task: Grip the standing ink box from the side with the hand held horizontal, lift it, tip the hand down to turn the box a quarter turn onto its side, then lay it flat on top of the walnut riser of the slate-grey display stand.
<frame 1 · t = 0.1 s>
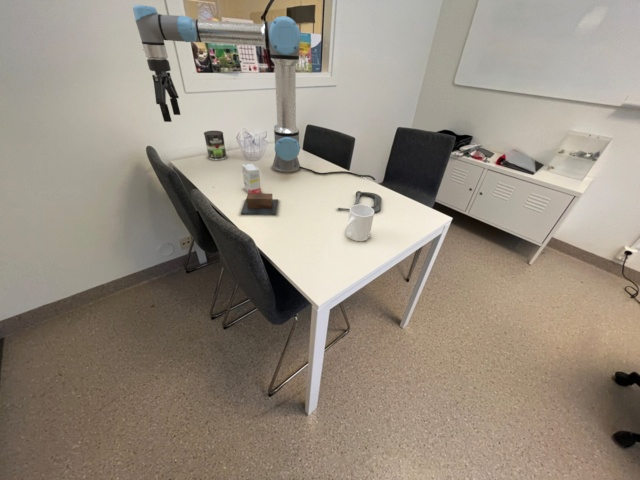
hand: (172, 118, 114), 28 cm above the table, tool pointing down, fingers open, 13 cm apart
c clamp: (362, 204, 119), on the table
coffee can: (217, 157, 157), on the table
mug: (354, 237, 97), on the table
stand: (260, 207, 111), on the table
ink box: (253, 191, 123), on the table
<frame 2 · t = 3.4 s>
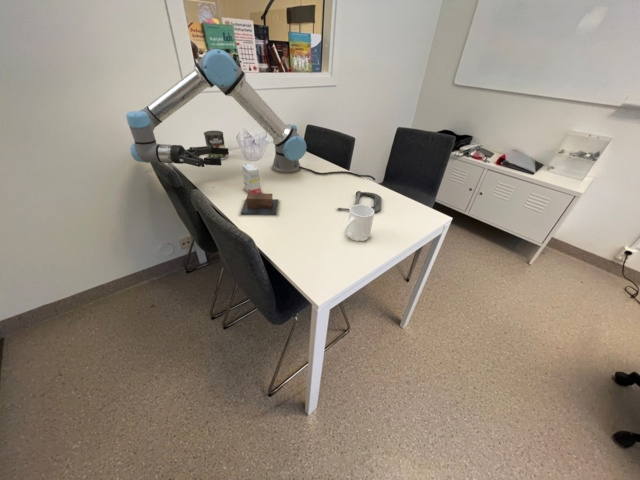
hand: (224, 156, 113), 16 cm above the table, tool horizontal, fingers open, 13 cm apart
nothing on the table moved.
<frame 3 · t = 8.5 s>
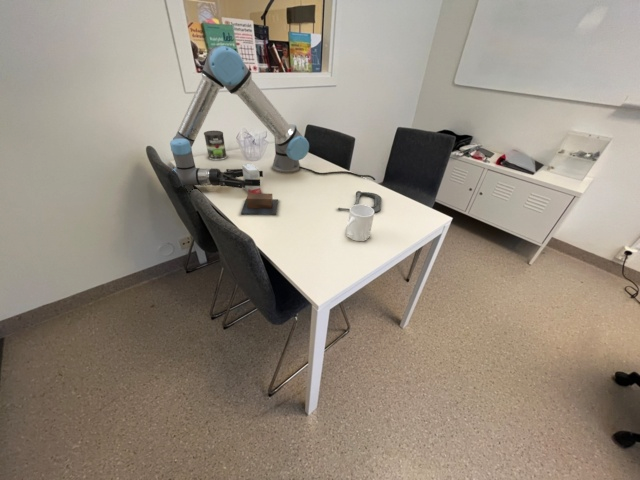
hand: (261, 178, 119), 7 cm above the table, tool horizontal, fingers closed on ink box, 9 cm apart
ink box: (253, 191, 123), on the table, touching gripper
everything else where it was.
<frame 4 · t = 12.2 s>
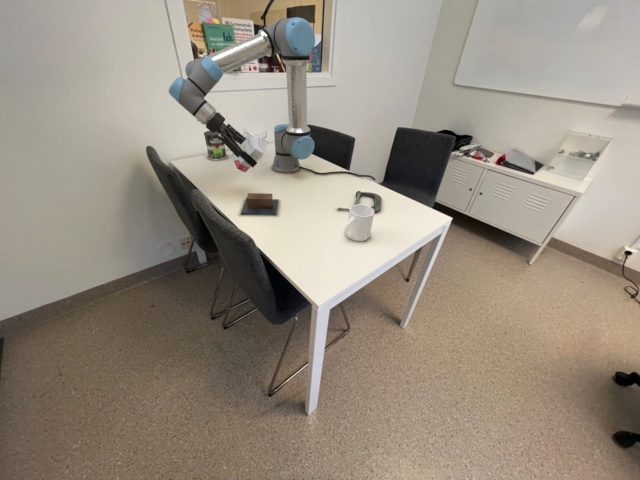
hand: (256, 160, 111), 16 cm above the table, tool tilted 45°, fingers closed on ink box, 9 cm apart
ink box: (238, 164, 111), point 14 cm above the table, touching gripper
everything else where it was.
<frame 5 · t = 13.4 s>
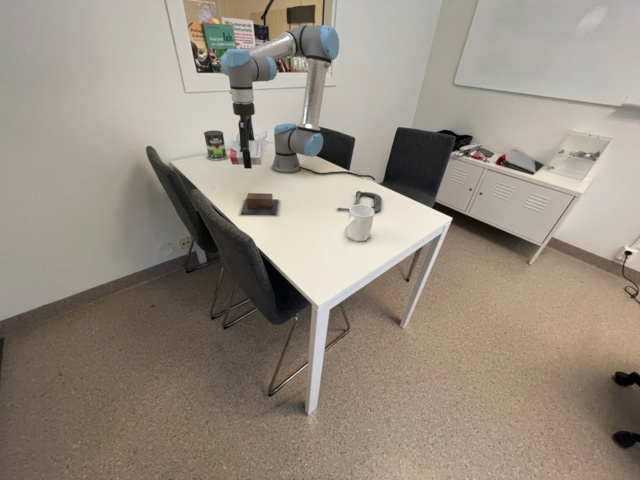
hand: (250, 163, 107), 16 cm above the table, tool pointing down, fingers closed on ink box, 9 cm apart
ink box: (231, 152, 104), point 21 cm above the table, touching gripper
everything else where it was.
when the fingers open (5 cm above the table, at t = 17.4 s): ink box drops 1 cm, resting on stand.
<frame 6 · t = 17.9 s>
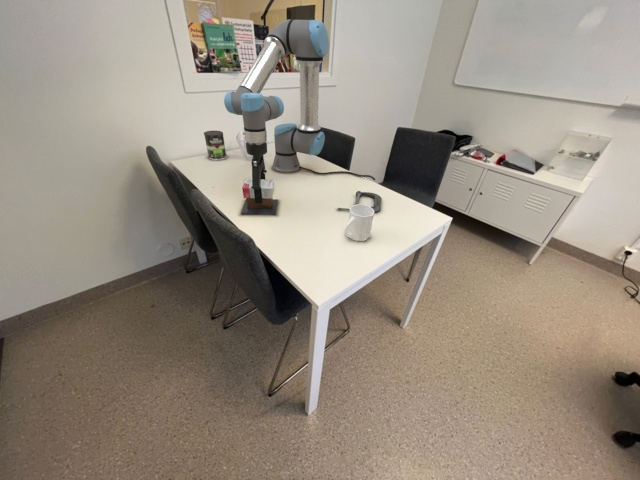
hand: (260, 195, 107), 6 cm above the table, tool pointing down, fingers open, 13 cm apart
ink box: (243, 188, 107), point 8 cm above the table, touching stand
everything else where it was.
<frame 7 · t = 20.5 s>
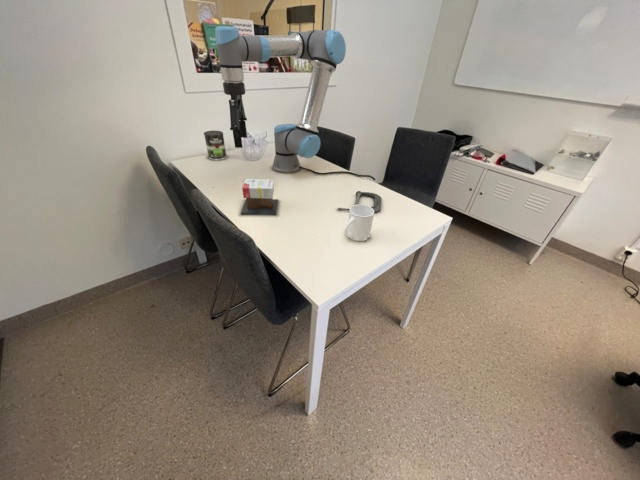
hand: (241, 142, 107), 23 cm above the table, tool pointing down, fingers open, 13 cm apart
nothing on the table moved.
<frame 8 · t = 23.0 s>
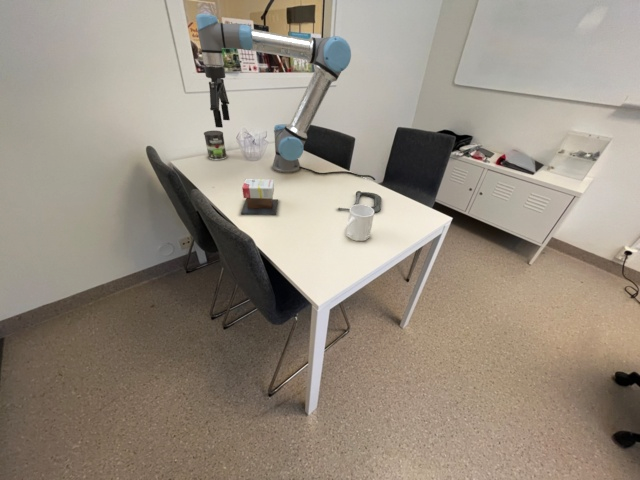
hand: (223, 123, 116), 27 cm above the table, tool pointing down, fingers open, 13 cm apart
nothing on the table moved.
at the end: ink box tilted 90°; ink box touching stand; ink box inside the target area on the stand (6.5 cm from its centre), point 8.0 cm above the stand's base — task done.
